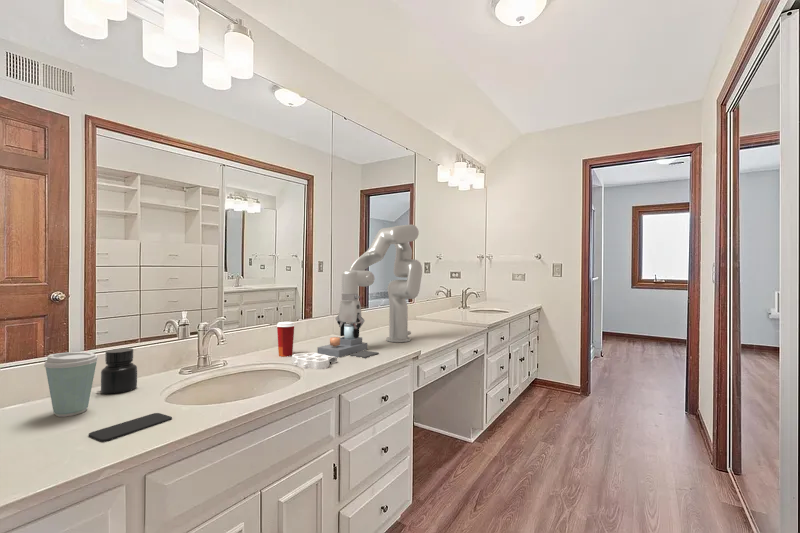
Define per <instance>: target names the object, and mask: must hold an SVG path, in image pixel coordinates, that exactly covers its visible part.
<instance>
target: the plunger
mask: <svg viewBox="0 0 800 533" xmlns="http://www.w3.org/2000/svg"><path fill="white" fill-rule="evenodd" d="M340 338H341V336H339V337H338V336H331V337H329V345H331V346H333V348H337V346H338V345H340Z"/></svg>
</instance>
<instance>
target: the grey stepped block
mask: <svg viewBox="0 0 800 533" xmlns="http://www.w3.org/2000/svg"><path fill="white" fill-rule="evenodd" d="M363 350H364V351H368V342H363V337H361V336H359V337H356V338H355V339H352V340H349V339H344V336H340V345H338V346H337V348H333V346H331V345H330V344H326V345H321V346H318V347H317V353H318V354H325V355H328V356H335V357H336V358H338V357H339V358H342V356H343V357H346V356H350V355H349V354H352V353H353V354H354V353H356V352H359V351H360V352H361V351H363ZM345 355H346V356H345Z"/></svg>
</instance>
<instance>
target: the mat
mask: <svg viewBox="0 0 800 533" xmlns="http://www.w3.org/2000/svg"><path fill="white" fill-rule="evenodd" d="M379 354H380V353H379V352H377V351H371V350H370V351H369V350H364V351H360V352H357V353H353V354H350V355H349V356H350V357H353V356H356V357H355V358H360V357H362V359H367V358H370V356H371V357H375V356H377V355H379Z"/></svg>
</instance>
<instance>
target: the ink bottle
mask: <svg viewBox="0 0 800 533" xmlns="http://www.w3.org/2000/svg"><path fill="white" fill-rule="evenodd" d="M104 359H105V367H104V368H102V369H101V371H100V393H102V394H106V395H107V394H108V395H111V394H112V395H113V394H114V395H115V394H121V393H126V392H130V391H133V390H134V389H136V388H137V387H138V366H137V365H136V364H134V362H133V361H134V348H130V347H128V348H127V347H126V348H125V347H124V348H122V347H121V348H115V349H109V350H106V351H105V358H104Z"/></svg>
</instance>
